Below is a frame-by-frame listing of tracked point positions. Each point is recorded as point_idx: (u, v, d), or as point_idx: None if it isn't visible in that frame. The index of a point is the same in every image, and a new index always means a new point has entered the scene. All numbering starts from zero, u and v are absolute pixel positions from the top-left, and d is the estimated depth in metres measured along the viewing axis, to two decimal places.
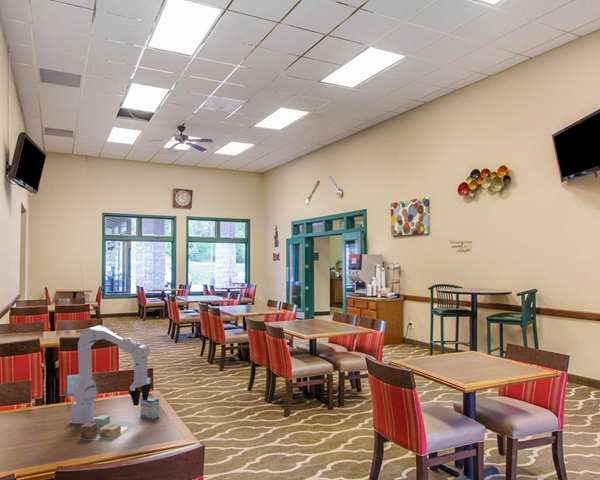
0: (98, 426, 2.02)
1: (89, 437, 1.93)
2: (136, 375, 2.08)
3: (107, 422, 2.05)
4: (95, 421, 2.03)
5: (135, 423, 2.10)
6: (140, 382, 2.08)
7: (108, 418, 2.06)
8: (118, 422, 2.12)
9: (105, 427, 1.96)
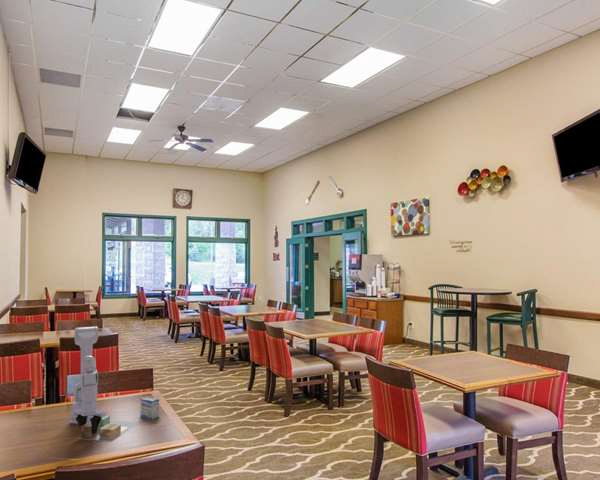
0: (98, 426, 2.02)
1: (89, 437, 1.93)
2: None
3: (107, 422, 2.05)
4: None
5: (135, 423, 2.10)
6: None
7: (108, 418, 2.06)
8: (118, 422, 2.12)
9: (105, 427, 1.96)
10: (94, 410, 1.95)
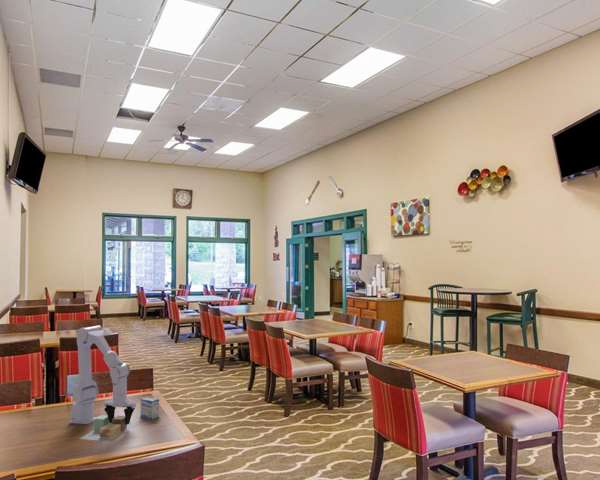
0: (98, 426, 2.02)
1: None
2: None
3: (107, 422, 2.05)
4: (95, 421, 2.03)
5: (135, 423, 2.10)
6: (113, 401, 2.04)
7: (108, 418, 2.06)
8: None
9: (105, 427, 1.96)
10: (125, 401, 2.03)
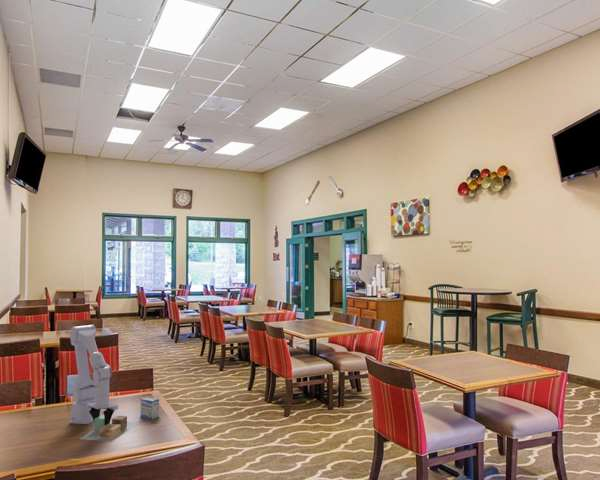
0: (98, 426, 2.02)
1: None
2: None
3: None
4: (95, 421, 2.03)
5: (135, 423, 2.10)
6: None
7: None
8: None
9: (105, 427, 1.96)
10: (107, 403, 2.04)
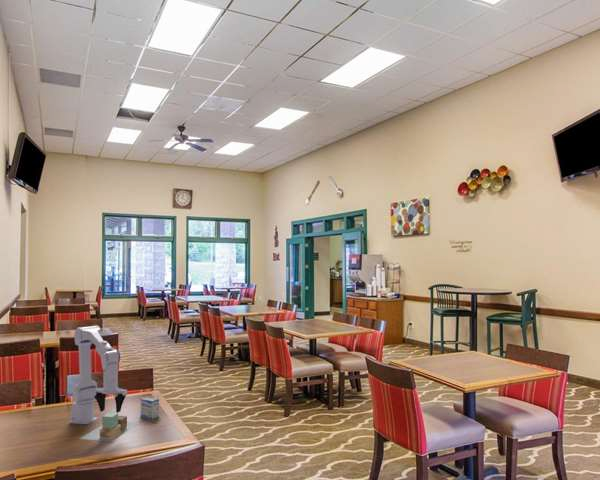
0: (106, 424, 1.95)
1: None
2: None
3: (115, 420, 1.97)
4: (103, 419, 1.95)
5: (135, 423, 2.10)
6: (103, 388, 1.97)
7: (116, 416, 1.98)
8: None
9: None
10: (115, 388, 1.97)
